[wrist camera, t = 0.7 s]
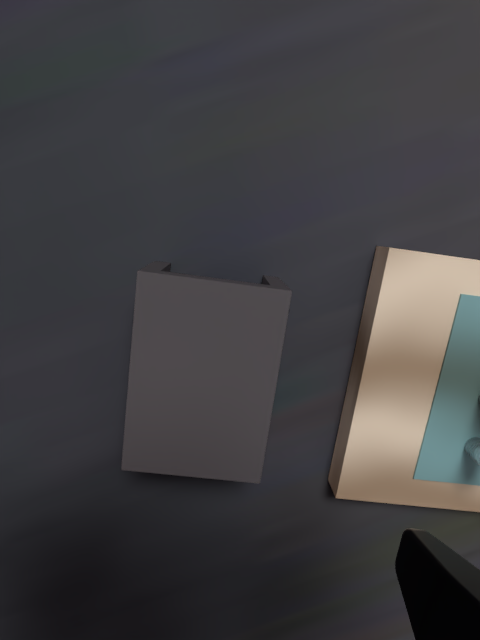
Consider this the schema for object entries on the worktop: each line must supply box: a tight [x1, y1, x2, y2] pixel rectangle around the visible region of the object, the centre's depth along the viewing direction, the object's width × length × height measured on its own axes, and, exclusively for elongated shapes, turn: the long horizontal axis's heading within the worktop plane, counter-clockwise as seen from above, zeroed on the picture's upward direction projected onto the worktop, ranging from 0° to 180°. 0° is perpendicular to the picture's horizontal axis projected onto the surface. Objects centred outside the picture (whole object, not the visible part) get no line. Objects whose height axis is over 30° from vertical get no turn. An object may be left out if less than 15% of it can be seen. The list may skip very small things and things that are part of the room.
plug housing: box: [121, 261, 292, 484], centre depth 18 cm, size 8×6×4 cm
